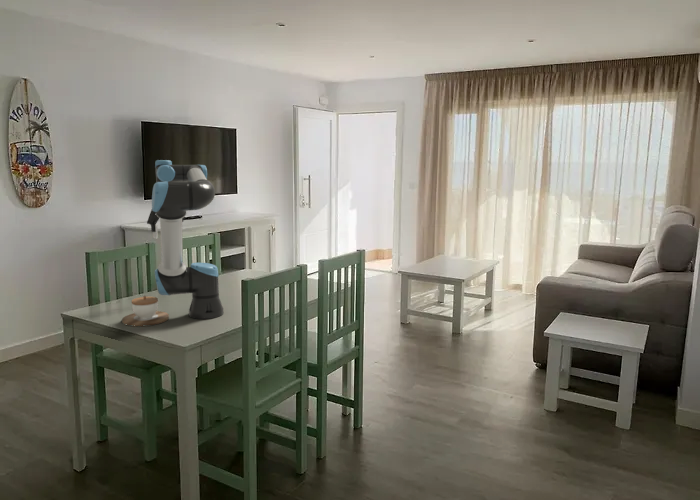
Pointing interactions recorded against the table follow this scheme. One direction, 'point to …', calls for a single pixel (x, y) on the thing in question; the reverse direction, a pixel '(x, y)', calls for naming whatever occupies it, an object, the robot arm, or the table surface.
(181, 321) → the table surface
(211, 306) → the robot arm
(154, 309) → the lidded jar
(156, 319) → the plate
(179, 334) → the table surface
